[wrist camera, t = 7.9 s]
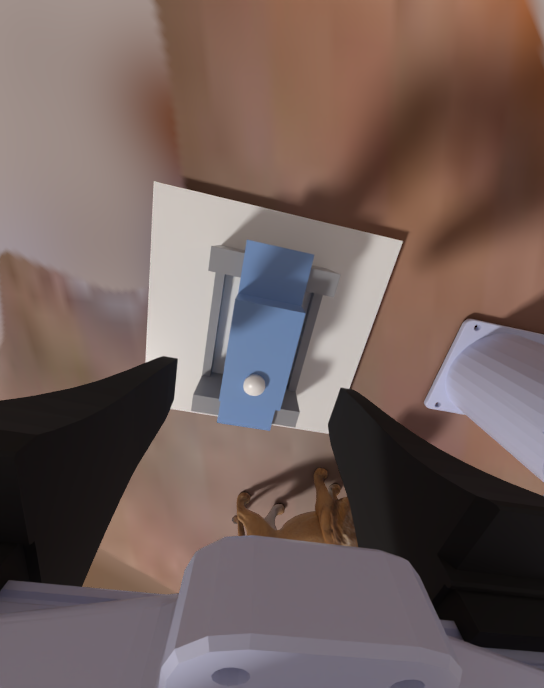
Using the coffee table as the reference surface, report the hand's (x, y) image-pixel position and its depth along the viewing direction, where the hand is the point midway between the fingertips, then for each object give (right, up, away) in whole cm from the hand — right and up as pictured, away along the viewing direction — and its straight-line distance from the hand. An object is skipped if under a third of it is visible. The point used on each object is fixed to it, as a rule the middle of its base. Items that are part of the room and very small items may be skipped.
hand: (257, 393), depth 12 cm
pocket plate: (0, +3, +9) cm, 9 cm away
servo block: (0, +3, +7) cm, 8 cm away
